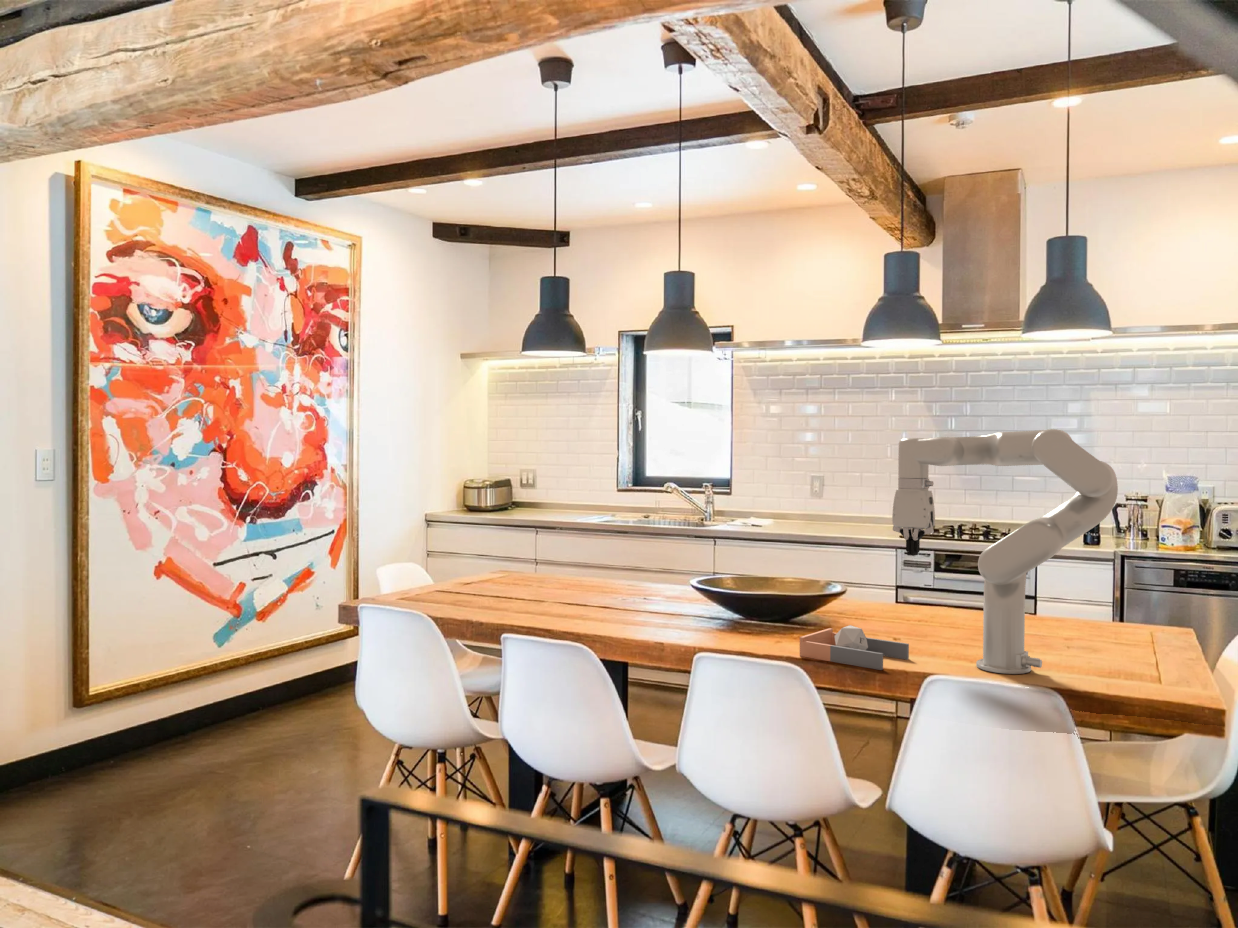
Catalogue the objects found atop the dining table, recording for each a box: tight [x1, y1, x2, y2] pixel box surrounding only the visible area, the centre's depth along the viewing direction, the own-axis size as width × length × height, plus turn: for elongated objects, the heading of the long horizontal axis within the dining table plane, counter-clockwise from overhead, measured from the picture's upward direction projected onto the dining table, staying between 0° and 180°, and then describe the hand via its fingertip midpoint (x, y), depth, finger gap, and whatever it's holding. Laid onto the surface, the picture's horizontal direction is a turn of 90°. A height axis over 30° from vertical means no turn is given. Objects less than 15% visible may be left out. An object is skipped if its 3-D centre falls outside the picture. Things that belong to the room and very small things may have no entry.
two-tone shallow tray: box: [799, 627, 910, 671], centre depth 239 cm, size 23×16×5 cm
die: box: [835, 625, 868, 650], centre depth 240 cm, size 8×9×10 cm
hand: (912, 554), depth 238 cm, fingers closed
